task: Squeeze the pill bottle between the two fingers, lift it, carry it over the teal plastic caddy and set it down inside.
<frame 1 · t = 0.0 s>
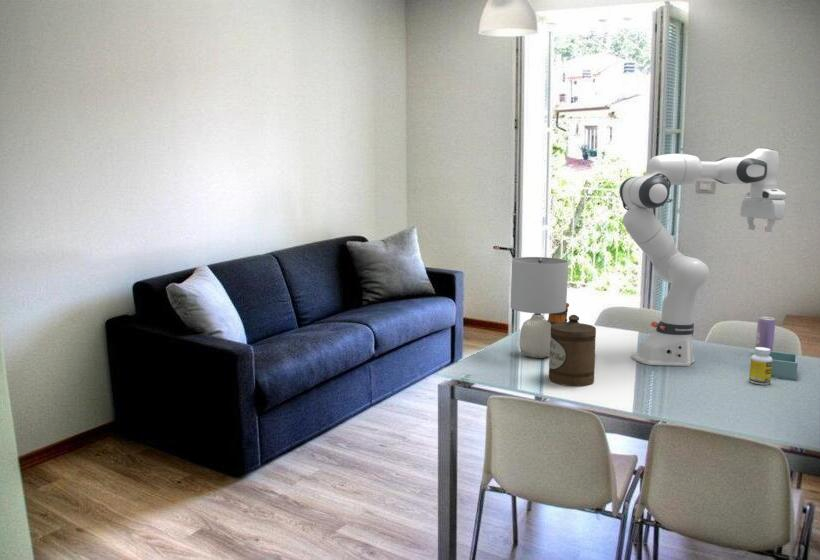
hand: (759, 230, 264), 48 cm above the table, fingers open, 8 cm apart
beverage can: (763, 356, 273), on the table
mug: (558, 330, 313), on the table
lamp: (535, 356, 268), on the table
pill bottle: (759, 383, 239), on the table
caddy: (774, 372, 251), on the table
wooden container: (570, 380, 238), on the table
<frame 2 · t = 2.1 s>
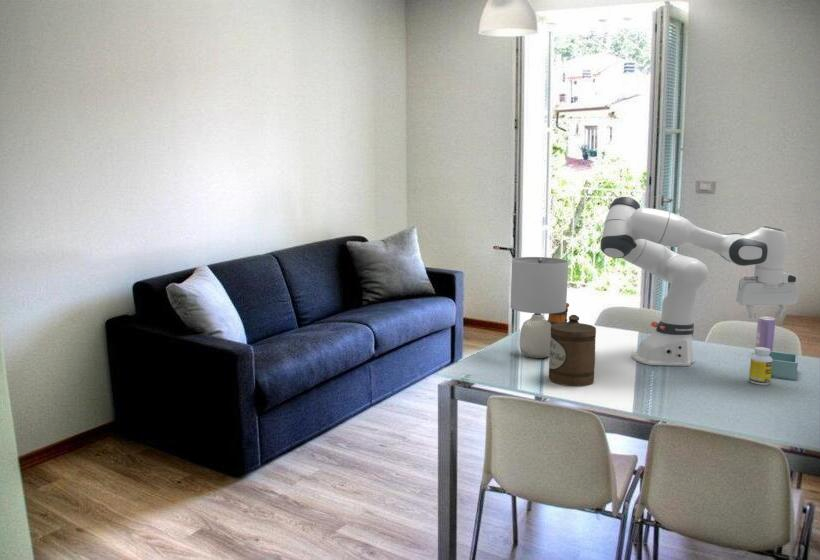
hand: (765, 317, 236), 22 cm above the table, fingers open, 8 cm apart
nothing on the table moved.
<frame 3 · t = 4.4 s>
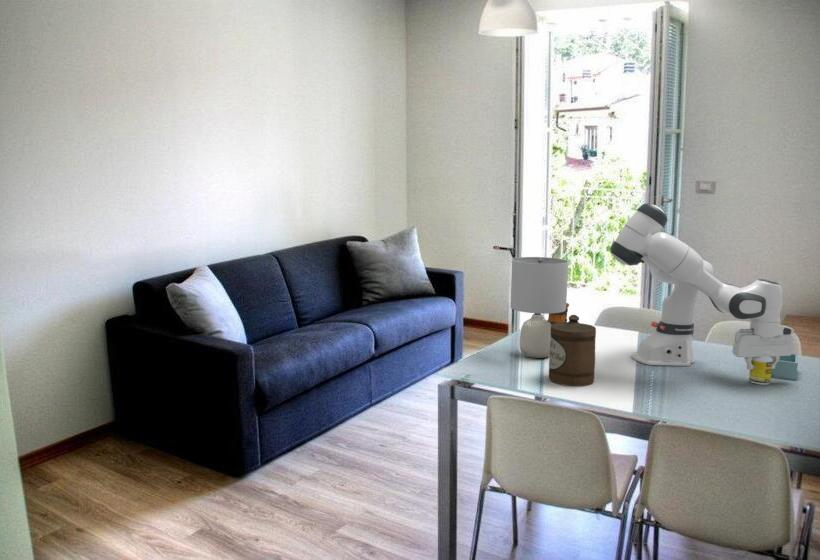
hand: (760, 369, 238), 5 cm above the table, fingers closed on pill bottle, 6 cm apart
pill bottle: (759, 383, 239), on the table, touching gripper
everything else where it was.
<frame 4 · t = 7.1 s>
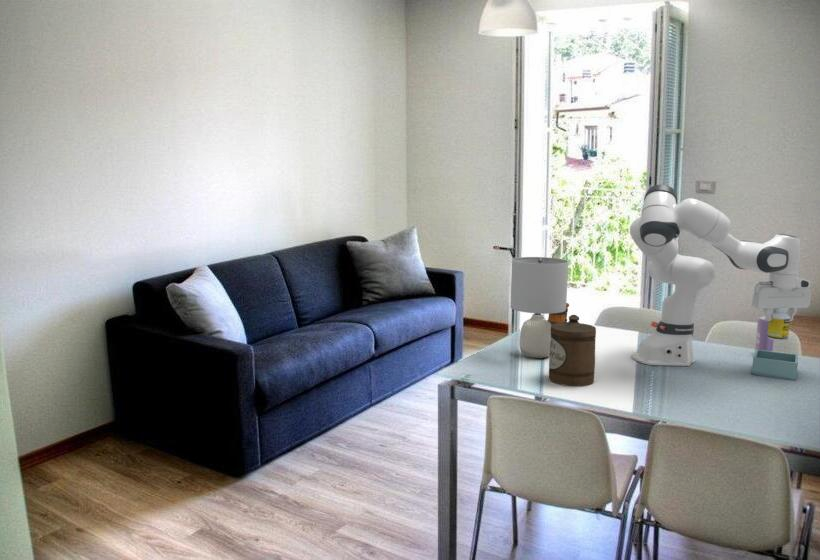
hand: (779, 320, 248), 19 cm above the table, fingers closed on pill bottle, 6 cm apart
pill bottle: (777, 339, 249), point 12 cm above the table, touching gripper
everything else where it was.
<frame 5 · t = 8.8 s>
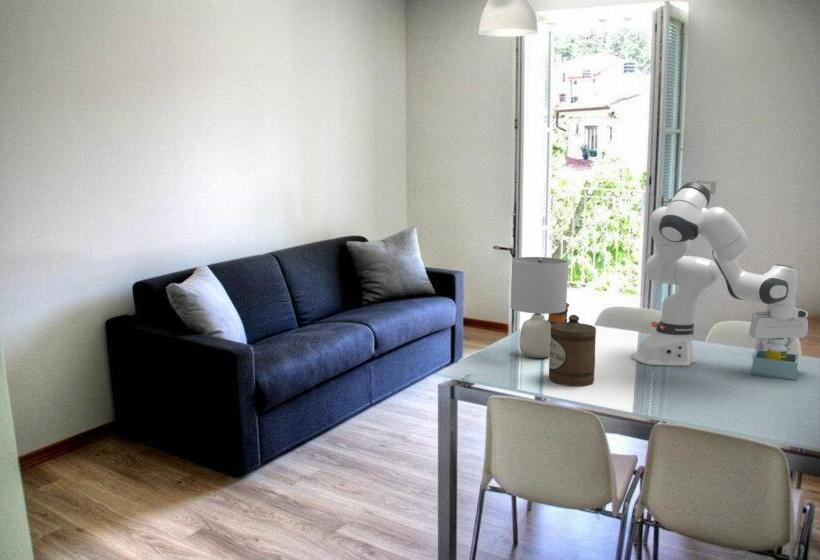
hand: (776, 350, 249), 8 cm above the table, fingers closed on pill bottle, 6 cm apart
pill bottle: (774, 371, 250), point 1 cm above the table, touching caddy, gripper
everything else where it was.
when the fingers open (7 cm above the table, at t = 10.0 s): pill bottle stays where it is, resting on caddy.
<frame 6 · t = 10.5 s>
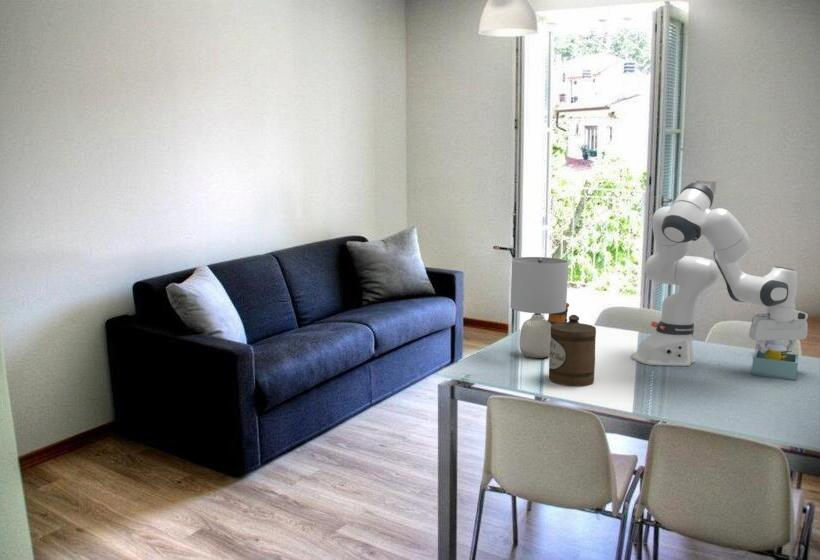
hand: (776, 352, 249), 7 cm above the table, fingers open, 8 cm apart
pill bottle: (774, 371, 250), point 1 cm above the table, touching caddy
everything else where it was.
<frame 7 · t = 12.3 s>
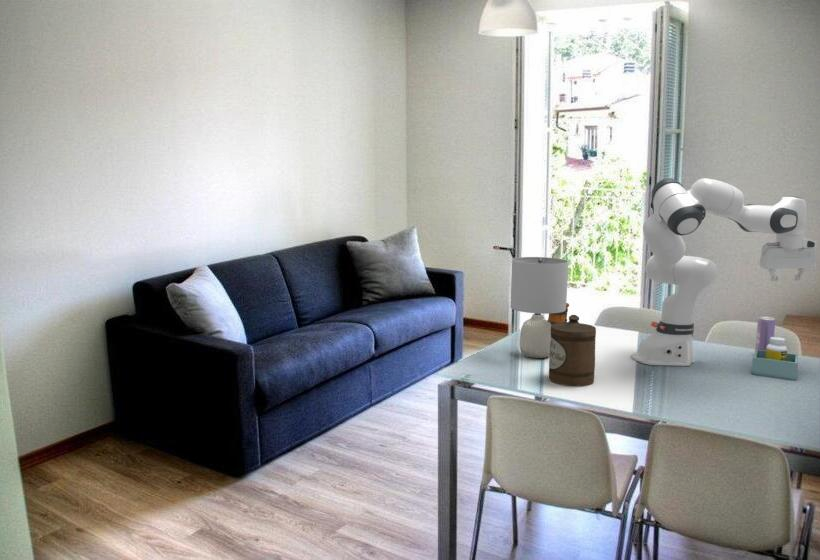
hand: (786, 280, 255), 31 cm above the table, fingers open, 8 cm apart
nothing on the table moved.
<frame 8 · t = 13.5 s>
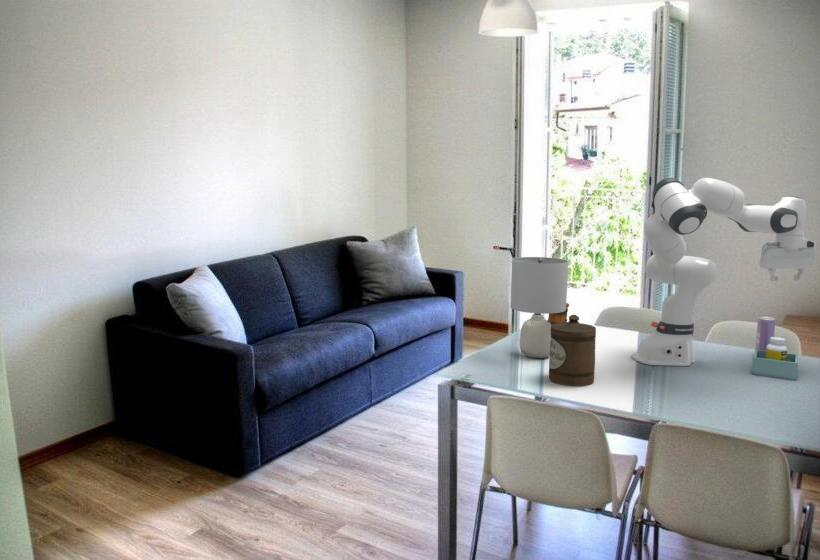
hand: (785, 280, 256), 31 cm above the table, fingers open, 8 cm apart
nothing on the table moved.
at the end: pill bottle 0.4 cm from the caddy (horizontally); pill bottle point 0.6 cm above the table; pill bottle tilted 0° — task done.
